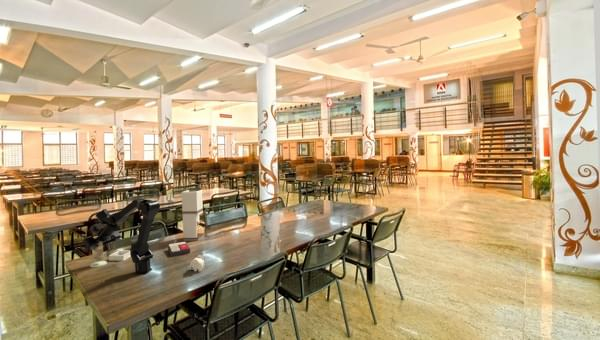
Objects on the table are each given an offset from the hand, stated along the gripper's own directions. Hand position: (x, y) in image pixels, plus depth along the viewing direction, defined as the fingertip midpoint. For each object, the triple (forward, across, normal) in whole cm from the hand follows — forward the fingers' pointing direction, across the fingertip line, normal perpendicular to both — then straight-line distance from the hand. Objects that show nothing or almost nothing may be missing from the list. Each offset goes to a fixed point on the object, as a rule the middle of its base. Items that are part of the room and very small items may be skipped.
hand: (95, 247), depth 169 cm
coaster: (+6, 0, +8) cm, 10 cm away
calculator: (-14, -32, +28) cm, 45 cm away
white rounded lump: (-36, -11, +50) cm, 62 cm away
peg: (+4, 0, +6) cm, 7 cm away
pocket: (+4, -12, +10) cm, 16 cm away
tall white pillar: (-7, -58, +21) cm, 62 cm away
